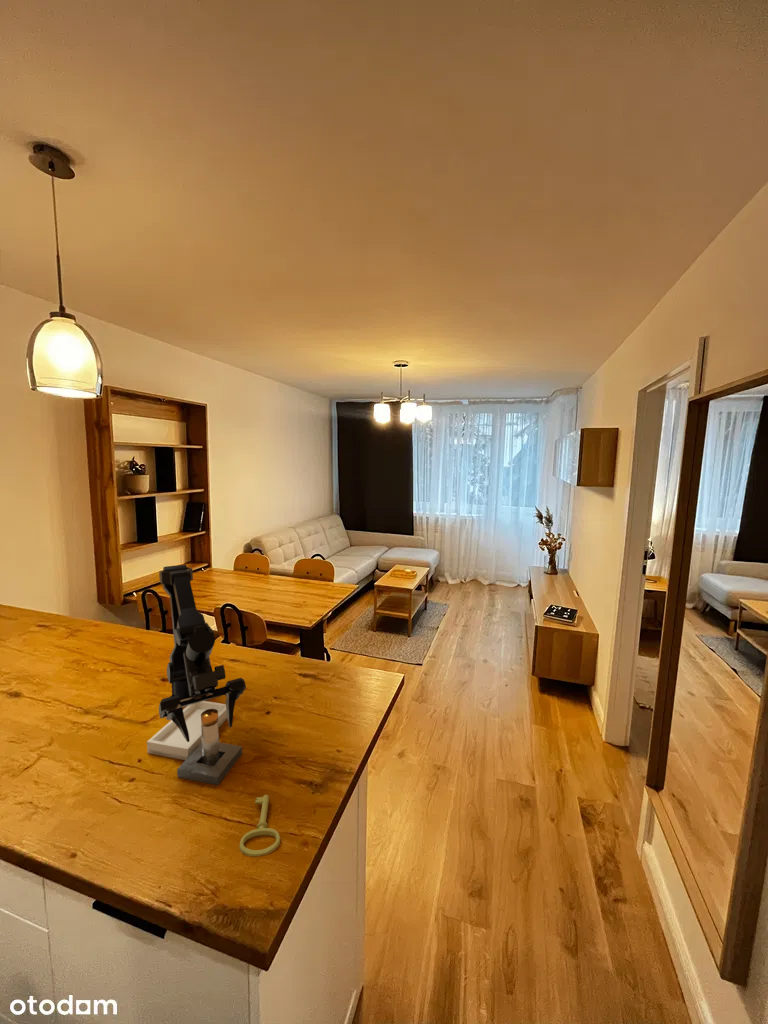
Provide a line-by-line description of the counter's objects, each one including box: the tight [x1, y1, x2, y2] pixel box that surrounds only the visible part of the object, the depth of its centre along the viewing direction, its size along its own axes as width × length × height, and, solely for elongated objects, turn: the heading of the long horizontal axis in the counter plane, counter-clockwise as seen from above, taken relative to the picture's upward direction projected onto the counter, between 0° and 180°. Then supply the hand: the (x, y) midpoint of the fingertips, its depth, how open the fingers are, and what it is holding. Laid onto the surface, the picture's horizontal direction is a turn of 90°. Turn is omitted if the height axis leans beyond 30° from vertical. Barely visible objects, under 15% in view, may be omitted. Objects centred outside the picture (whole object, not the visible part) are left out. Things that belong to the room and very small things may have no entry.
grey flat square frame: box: [176, 741, 243, 786], centre depth 98 cm, size 10×10×2 cm
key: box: [238, 794, 281, 857], centre depth 82 cm, size 7×12×2 cm, turn 27°
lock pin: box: [201, 709, 220, 766], centre depth 97 cm, size 4×4×13 cm
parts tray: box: [146, 700, 228, 761], centre depth 109 cm, size 11×18×3 cm, turn 168°
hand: (210, 734), depth 97 cm, fingers open, 9 cm apart
